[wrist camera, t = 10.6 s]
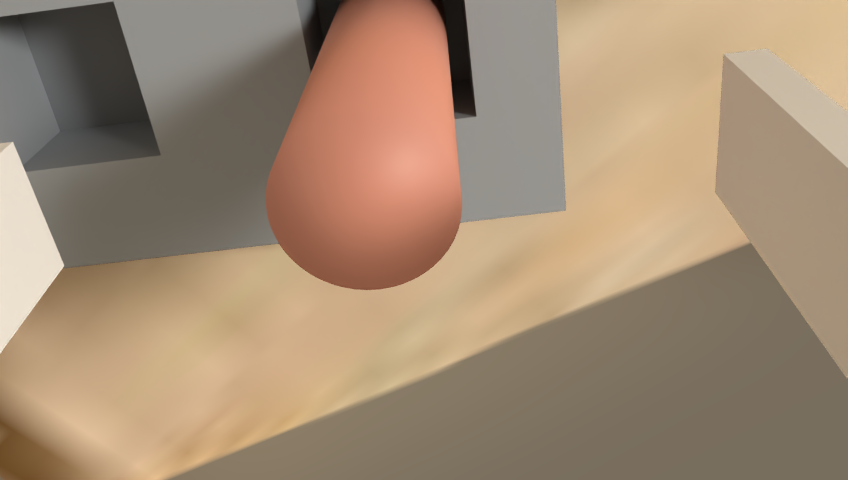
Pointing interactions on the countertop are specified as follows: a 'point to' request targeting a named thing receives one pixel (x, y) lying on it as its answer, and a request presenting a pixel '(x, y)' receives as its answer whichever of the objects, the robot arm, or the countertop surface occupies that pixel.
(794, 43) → the countertop surface
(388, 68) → the dowel
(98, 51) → the bore block
